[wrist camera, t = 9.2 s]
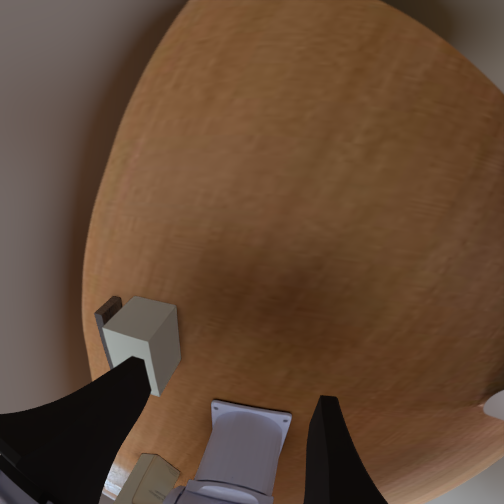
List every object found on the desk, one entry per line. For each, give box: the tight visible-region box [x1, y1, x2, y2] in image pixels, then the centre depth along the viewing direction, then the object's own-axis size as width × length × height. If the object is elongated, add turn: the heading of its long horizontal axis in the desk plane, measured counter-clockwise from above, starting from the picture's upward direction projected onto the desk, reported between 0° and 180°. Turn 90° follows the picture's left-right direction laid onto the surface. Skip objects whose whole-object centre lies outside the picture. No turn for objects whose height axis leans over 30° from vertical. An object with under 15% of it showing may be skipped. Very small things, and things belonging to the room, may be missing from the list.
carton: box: [102, 296, 181, 397], centre depth 21 cm, size 4×6×5 cm
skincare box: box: [113, 454, 180, 504], centre depth 31 cm, size 6×4×12 cm
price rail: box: [94, 296, 122, 369], centre depth 23 cm, size 8×1×3 cm, turn 176°
